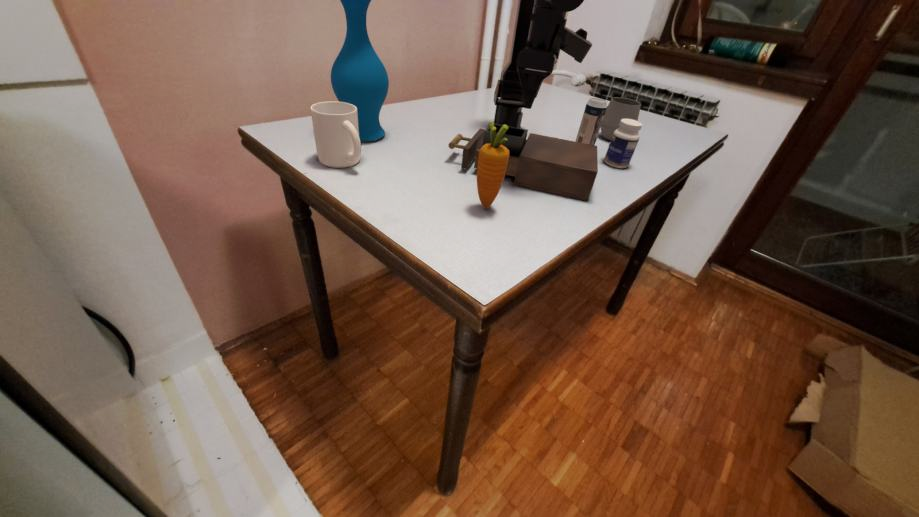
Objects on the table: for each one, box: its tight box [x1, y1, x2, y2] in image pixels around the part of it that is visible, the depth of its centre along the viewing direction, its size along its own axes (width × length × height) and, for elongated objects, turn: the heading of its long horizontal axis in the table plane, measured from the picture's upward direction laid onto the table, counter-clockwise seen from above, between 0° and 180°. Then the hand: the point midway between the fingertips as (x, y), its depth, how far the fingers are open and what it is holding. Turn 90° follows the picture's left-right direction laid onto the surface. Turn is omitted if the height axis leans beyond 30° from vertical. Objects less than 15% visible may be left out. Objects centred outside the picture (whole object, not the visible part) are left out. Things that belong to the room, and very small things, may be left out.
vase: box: [330, 0, 390, 143], centre depth 77 cm, size 12×13×28 cm
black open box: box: [482, 122, 529, 157], centre depth 76 cm, size 8×6×6 cm
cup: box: [600, 96, 642, 142], centre depth 99 cm, size 10×9×10 cm
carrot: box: [476, 120, 510, 210], centre depth 59 cm, size 5×5×15 cm
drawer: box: [448, 128, 527, 178], centre depth 77 cm, size 18×13×4 cm
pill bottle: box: [603, 119, 643, 169], centre depth 84 cm, size 6×6×10 cm
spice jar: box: [574, 97, 608, 146], centre depth 89 cm, size 5×5×12 cm
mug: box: [310, 100, 362, 169], centre depth 70 cm, size 12×8×10 cm
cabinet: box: [513, 132, 599, 202], centre depth 75 cm, size 15×15×6 cm
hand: (530, 102), depth 72 cm, fingers open, 9 cm apart
